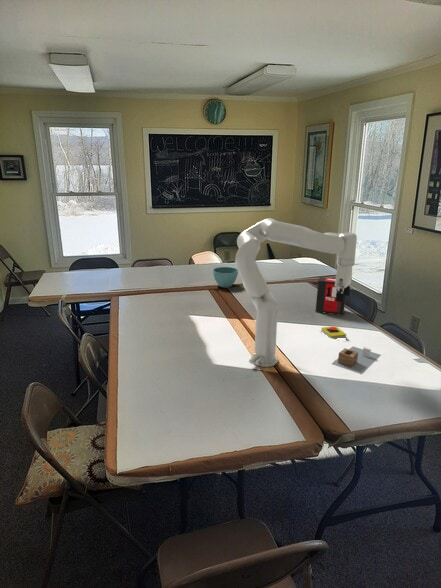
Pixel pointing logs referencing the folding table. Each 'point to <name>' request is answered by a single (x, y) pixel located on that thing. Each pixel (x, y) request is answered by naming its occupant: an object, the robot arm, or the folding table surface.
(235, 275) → the teal rounded bowl
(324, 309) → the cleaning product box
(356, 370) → the shaft plate
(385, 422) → the folding table surface
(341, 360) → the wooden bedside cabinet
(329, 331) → the emergency button
